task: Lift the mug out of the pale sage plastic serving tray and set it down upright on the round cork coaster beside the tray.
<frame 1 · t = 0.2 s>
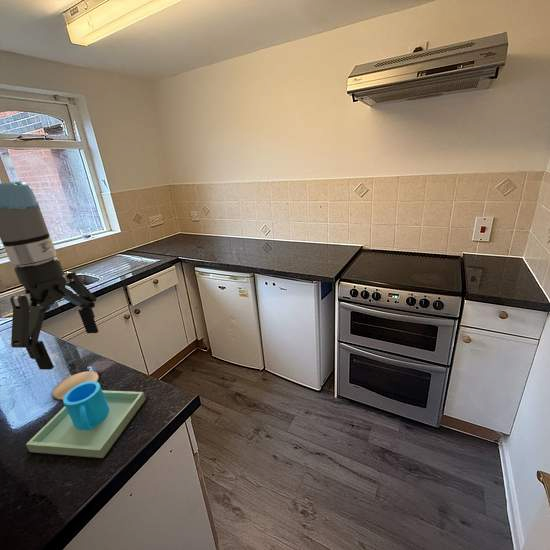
hand: (72, 348, 68), 23 cm above the countertop, tool pointing down, fingers open, 13 cm apart
tray: (92, 423, 77), on the countertop
mug: (92, 422, 76), resting on tray
coaster: (76, 385, 91), on the countertop
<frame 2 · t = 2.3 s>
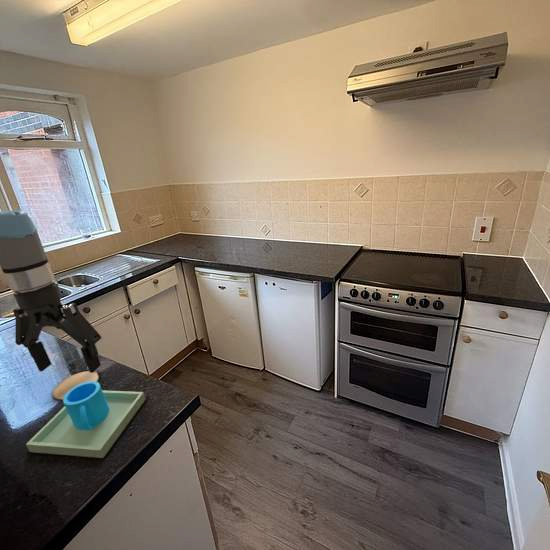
hand: (70, 368, 70), 17 cm above the countertop, tool pointing down, fingers open, 13 cm apart
nothing on the countertop moved.
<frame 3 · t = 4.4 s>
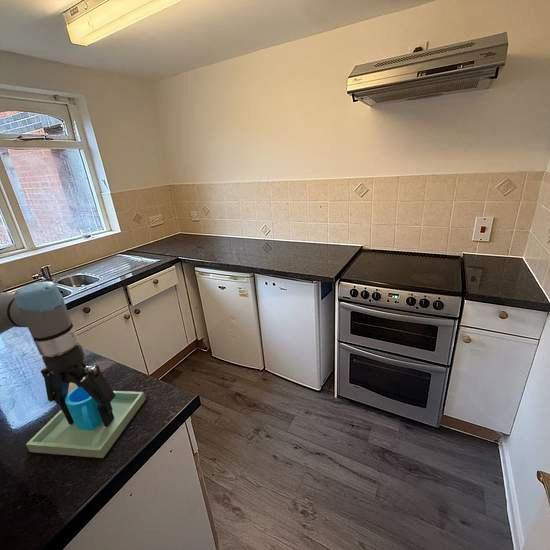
hand: (91, 421, 76), 1 cm above the countertop, tool pointing down, fingers closed on tray, 10 cm apart
nothing on the countertop moved.
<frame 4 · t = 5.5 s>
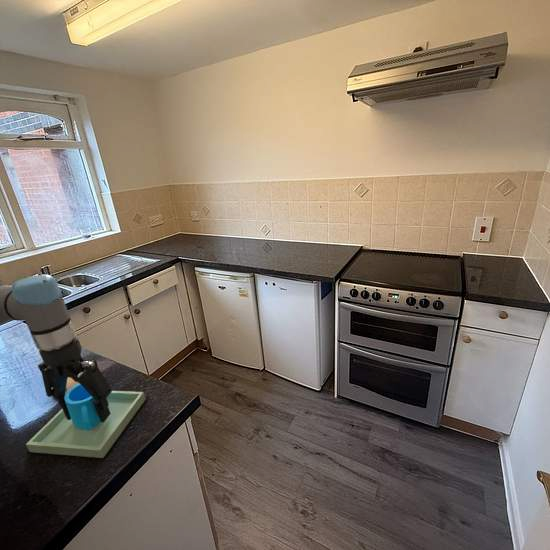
hand: (89, 416, 76), 2 cm above the countertop, tool pointing down, fingers open, 9 cm apart
mug: (91, 421, 76), point 1 cm above the countertop, touching gripper
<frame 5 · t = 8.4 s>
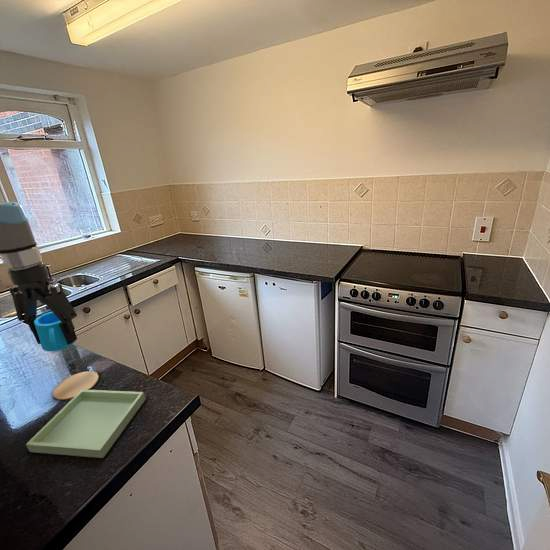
hand: (57, 341, 83), 17 cm above the countertop, tool pointing down
mug: (59, 346, 84), point 15 cm above the countertop, touching gripper
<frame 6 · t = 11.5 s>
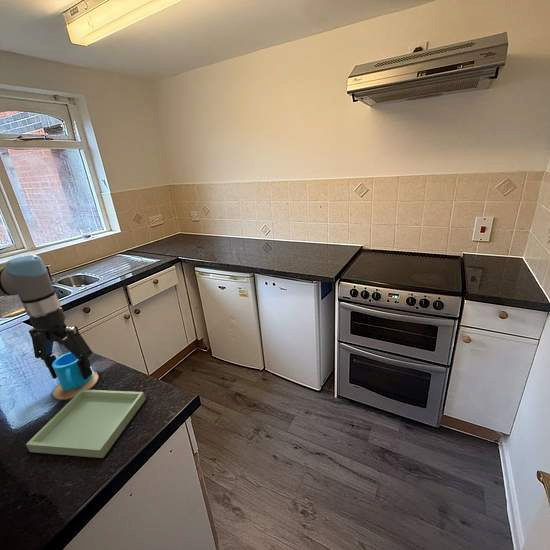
hand: (72, 376, 90), 3 cm above the countertop, tool pointing down, fingers open, 10 cm apart
mug: (76, 384, 91), resting on coaster, touching gripper
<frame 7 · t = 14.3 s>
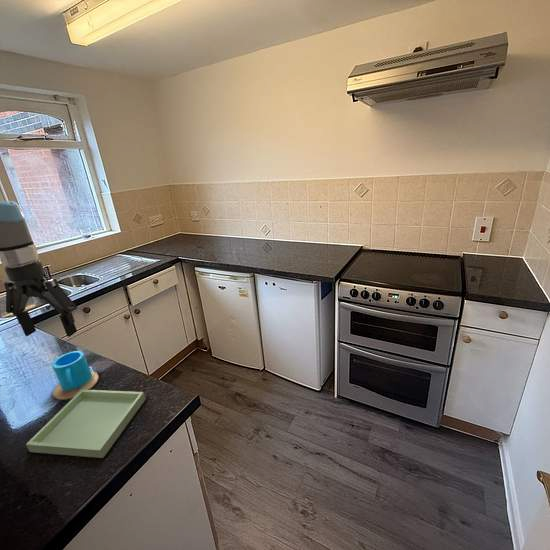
hand: (51, 333, 84), 19 cm above the countertop, tool pointing down, fingers open, 13 cm apart
mug: (76, 384, 91), resting on coaster
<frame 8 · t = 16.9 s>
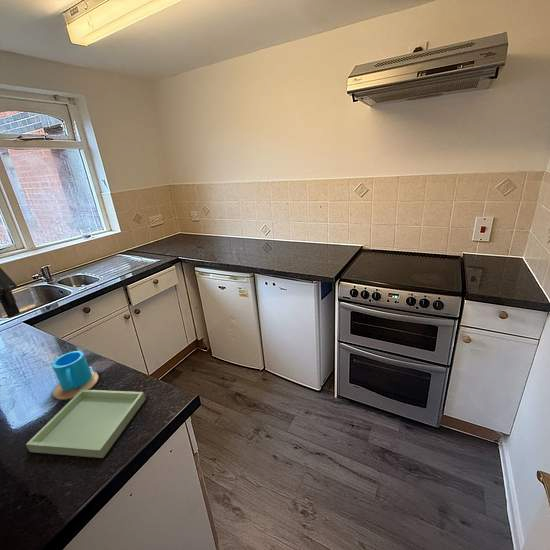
nothing on the countertop moved.
at the end: mug 0.1 cm off-centre on the coaster, point 0.2 cm above the coaster's base; mug tilted 0°; mug touching coaster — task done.
